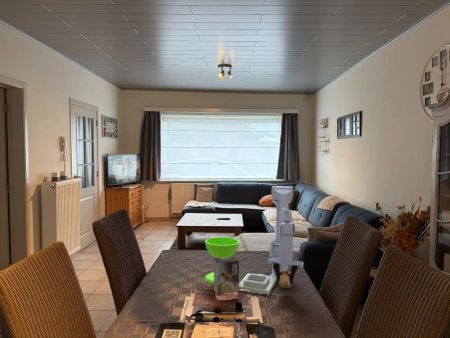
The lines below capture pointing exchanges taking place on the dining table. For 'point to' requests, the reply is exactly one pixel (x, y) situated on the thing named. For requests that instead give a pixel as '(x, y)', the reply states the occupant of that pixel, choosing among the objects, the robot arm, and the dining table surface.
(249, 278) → the pale green rectangular tray
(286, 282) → the spout can
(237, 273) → the coffee box
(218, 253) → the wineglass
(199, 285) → the dining table surface
